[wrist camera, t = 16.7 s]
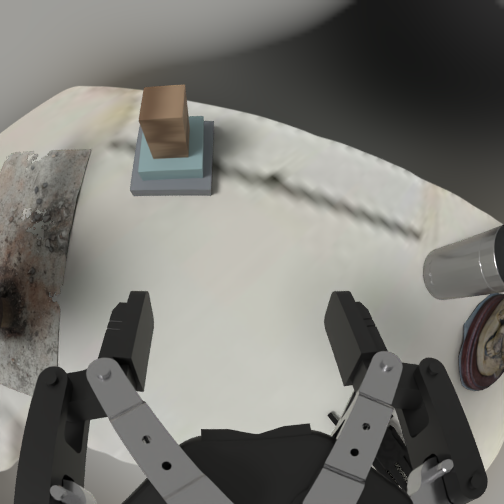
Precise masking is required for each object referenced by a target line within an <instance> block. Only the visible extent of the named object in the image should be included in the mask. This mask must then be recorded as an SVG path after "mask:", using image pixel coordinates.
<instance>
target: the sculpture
mask: <svg viewBox="0 0 504 504" xmlns="http://www.w3.org/2000/svg"><path fill="white" fill-rule="evenodd" d="M459 368H460V377H461V382H462V386H464V387H465V388H466V389H469V390H473V391H480V390H483V389H486V388H488V387H489V386H490V385H492V384H493V383H494V382H495V381H496V380H497V379H498V378H499V377H500V376H501V375H502V374H503V372H504V294H499V293H493V294H490V295H489V296H488V297H487V298H486V299H485V300H484V301H482V302H481V303H480V304H479V305H478V306H477V308H476V309H475V311H474V312H473V313H472V315H471V316H470V317H469V319H468V320H467V321H466V323H465V324H464V342H463V345H462V348H461V351H460V354H459Z"/></svg>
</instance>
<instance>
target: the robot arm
mask: <svg viewBox="0 0 504 504" xmlns="http://www.w3.org/2000/svg"><path fill="white" fill-rule="evenodd" d="M423 276H424V281H425V285H426V287H427V289H428V291H429V292H430V293H431V295H432V296H434V297H435V298H437V299H440V300H446V299H455V298H464V297H472V296H479V295H486V294H493V293H500V292H504V225H502V226H499V227H497V228H494V229H491V230H489V231H486V232H483V233H481V234H478V235H475V236H473V237H470V238H467V239H464V240H461V241H459V242H456V243H453V244H450V245H447V246H444V247H441V248H438V249H435V250H433V251H432V252H431V253H430V254H429V255H428V256H427V258H426V260H425V263H424V268H423ZM324 324H325V329H326V332H327V335H328V338H329V341H330V344H331V347H332V350H333V353H334V357H335V360H336V363H337V366H338V369H339V372H340V375H341V378H342V381H343V385H344V386H349V385H353V388H354V391H353V393H352V395H351V397H350V399H349V401H348V403H347V405H346V407H345V409H344V411H343V413H342V415H341V417H340V419H339V421H338V423H337V425H336V427H335V429H334V430H333V432H332V434H331V435H327V434H325V433H322V432H319V431H315V430H311V428H310V423H309V424H301V425H291V426H283V427H280V428H277V429H274V430H271V431H267V432H264V433H261V434H251V433H246V432H240V431H235V430H230V429H201V436H198V437H194V438H191V439H189V440H187V441H185V442H183V443H181V444H180V445H178V444H177V443H176V441H175V440H174V439H173V438H172V436H171V435H170V434H169V433H168V431H167V430H166V429H165V427H164V426H163V425H162V423H161V422H160V421H159V419H158V418H157V417H156V415H155V414H154V413H153V411H152V410H151V409H150V407H149V406H148V405H147V403H146V402H145V401H143V400H142V399H141V398H140V396H139V395H138V393H137V392H136V391H141V392H144V386H145V379H146V372H147V366H148V359H149V353H150V347H151V341H152V335H153V329H154V318H153V313H152V307H151V302H150V297H149V293H148V291H131V292H130V295H129V298H128V301H127V303H121V302H120V303H119V304H118V305H117V306H116V307H115V308H114V309H113V311H112V314H111V317H110V322H109V323H108V326H107V330H106V333H105V336H104V340H103V343H102V346H101V350H100V353H99V357H98V359H97V360H95V361H93V362H92V363H91V364H90V365H89V367H88V368H87V369H86V370H83V371H78V372H72V373H67V374H66V372H65V371H64V370H63V369H62V368H60V367H57V366H51V367H48V368H46V369H44V370H43V371H42V372H41V373H40V374H39V376H38V378H37V382H36V385H35V389H34V393H33V397H32V400H31V404H30V408H29V413H28V417H27V421H26V426H25V430H24V435H23V440H22V446H21V451H20V457H19V464H18V471H17V478H16V487H15V496H14V504H97V503H96V500H95V498H94V496H93V495H92V494H91V493H90V492H89V491H87V490H86V489H84V476H85V462H86V450H87V441H88V433H89V425H90V420H92V419H98V418H103V417H108V418H109V420H110V422H111V424H112V426H113V427H114V429H115V431H116V432H117V434H118V435H119V437H120V439H121V440H122V442H123V443H124V445H125V446H126V448H127V449H128V451H129V452H130V454H131V455H132V457H133V458H134V460H135V461H136V463H137V464H138V465H139V467H140V468H141V469H142V471H143V472H144V474H145V475H146V476H147V478H146V479H145V481H144V482H143V483H142V484H141V485H140V486H139V487H138V488H137V489H136V490H135V491H134V492H133V493H132V494H131V495H130V496H129V497H128V498H127V499H126V500H125V501H124V502H123V503H122V504H466V503H468V502H470V501H472V500H474V499H477V498H479V497H480V496H481V495H482V494H483V493H484V492H485V490H486V488H487V475H486V472H485V469H484V466H483V463H482V460H481V457H480V454H479V451H478V448H477V445H476V442H475V439H474V437H473V434H472V431H471V429H470V426H469V423H468V421H467V418H466V416H465V413H464V411H463V408H462V406H461V403H460V401H459V399H458V396H457V394H456V392H455V389H454V387H453V385H452V382H451V380H450V378H449V376H448V374H447V371H446V369H445V367H444V366H443V364H442V363H441V362H440V361H438V360H437V359H434V358H425V359H423V360H422V361H421V362H420V364H419V365H415V364H408V363H402V362H401V360H400V359H399V358H398V357H397V356H396V355H395V354H393V353H391V352H388V351H387V349H386V347H385V344H384V342H383V340H382V338H381V336H380V334H379V332H378V329H377V327H375V323H374V321H373V320H372V317H371V315H370V313H369V311H368V309H367V308H366V307H365V306H364V305H363V304H362V303H361V302H355V300H354V298H353V296H352V294H351V292H350V291H334V292H333V293H332V294H331V297H330V301H329V304H328V307H327V311H326V314H325V319H324ZM393 408H395V409H396V413H397V416H398V419H399V422H400V426H401V429H402V432H403V436H404V439H405V443H406V446H407V450H408V454H409V457H410V461H411V465H412V469H413V471H412V472H411V473H410V475H409V477H408V485H407V489H408V491H407V493H406V492H405V491H404V490H403V489H401V488H400V487H398V486H397V485H395V484H394V483H393V482H391V481H390V480H389V479H387V478H386V477H384V476H383V475H382V474H380V473H379V472H378V471H376V470H375V469H374V468H372V467H371V466H372V464H373V461H374V459H375V457H376V454H377V452H378V449H379V447H380V444H381V442H382V439H383V437H384V434H385V431H386V429H387V426H388V423H389V420H390V418H391V415H392V412H393Z"/></svg>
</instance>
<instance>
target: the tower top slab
mask: <svg viewBox="0 0 504 504" xmlns="http://www.w3.org/2000/svg"><path fill="white" fill-rule="evenodd" d="M189 126H190V133H189V157H187V158H165V159H153V157H152V155H151V152H150V149H149V147H148V144H147V141H146V139H145V136H144V133H142V141H141V149H140V159H139V169H138V173H139V175H140V177H141V178H142V180H143V181H144V180H163V179H186V178H203V143H204V117H203V116H190V117H189Z"/></svg>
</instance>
